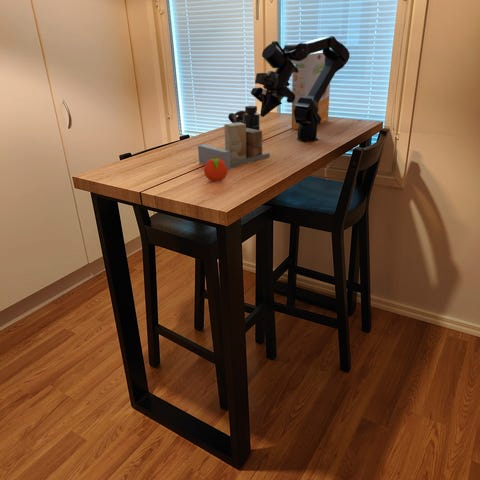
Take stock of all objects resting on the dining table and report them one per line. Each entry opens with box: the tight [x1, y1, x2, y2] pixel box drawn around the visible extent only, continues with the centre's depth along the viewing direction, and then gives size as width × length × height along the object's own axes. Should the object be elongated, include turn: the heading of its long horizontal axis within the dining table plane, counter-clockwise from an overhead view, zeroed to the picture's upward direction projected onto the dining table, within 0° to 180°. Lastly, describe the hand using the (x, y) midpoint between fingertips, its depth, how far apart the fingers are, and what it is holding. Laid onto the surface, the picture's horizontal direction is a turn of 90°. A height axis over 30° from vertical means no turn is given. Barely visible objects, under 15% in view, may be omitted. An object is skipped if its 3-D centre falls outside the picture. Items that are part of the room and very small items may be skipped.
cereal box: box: [291, 50, 331, 130], centre depth 187 cm, size 22×6×30 cm, turn 143°
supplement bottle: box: [243, 105, 261, 131], centre depth 176 cm, size 7×7×12 cm
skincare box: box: [224, 122, 247, 163], centre depth 145 cm, size 6×4×12 cm
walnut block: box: [246, 128, 263, 159], centre depth 149 cm, size 4×9×9 cm, turn 42°
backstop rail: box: [197, 143, 271, 171], centre depth 146 cm, size 21×14×6 cm, turn 132°
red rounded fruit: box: [203, 158, 228, 183], centre depth 125 cm, size 8×7×7 cm
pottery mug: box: [227, 110, 246, 123], centre depth 195 cm, size 12×10×8 cm
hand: (261, 116), depth 149 cm, fingers closed
